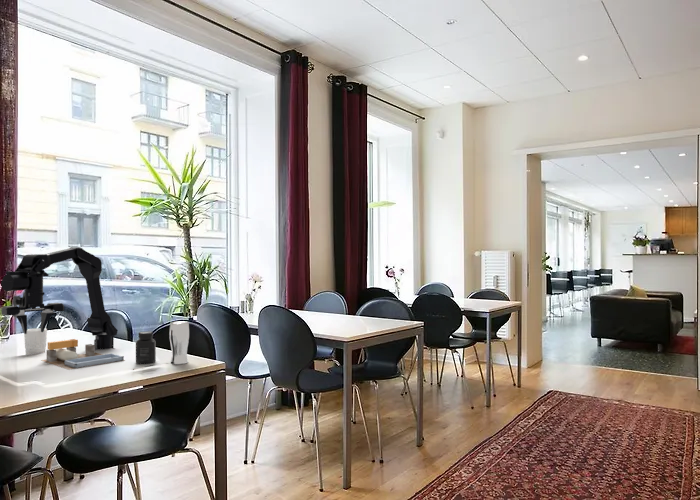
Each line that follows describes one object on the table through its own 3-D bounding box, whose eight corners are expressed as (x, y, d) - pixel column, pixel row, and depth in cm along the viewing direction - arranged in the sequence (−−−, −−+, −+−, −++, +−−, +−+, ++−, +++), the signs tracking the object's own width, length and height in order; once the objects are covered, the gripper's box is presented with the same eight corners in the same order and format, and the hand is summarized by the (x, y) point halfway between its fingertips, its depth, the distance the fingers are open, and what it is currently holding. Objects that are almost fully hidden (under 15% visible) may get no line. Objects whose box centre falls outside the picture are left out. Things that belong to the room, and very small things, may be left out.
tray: (111, 357, 201) (111, 353, 201) (123, 360, 196) (123, 356, 196) (64, 364, 188) (64, 360, 188) (75, 368, 182) (75, 363, 182)
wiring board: (95, 354, 211) (95, 342, 211) (125, 363, 196) (125, 349, 196) (40, 362, 195) (40, 349, 195) (68, 372, 180) (68, 357, 180)
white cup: (36, 356, 207) (36, 331, 207) (19, 356, 208) (19, 330, 208) (51, 353, 214) (51, 328, 214) (34, 352, 216) (34, 327, 216)
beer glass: (172, 361, 199) (172, 321, 199) (190, 360, 200) (191, 321, 200) (167, 365, 192) (167, 323, 192) (186, 364, 193) (186, 323, 193)
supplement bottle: (159, 363, 194) (159, 331, 194) (146, 367, 188) (147, 334, 188) (144, 362, 196) (144, 330, 197) (131, 366, 190) (131, 333, 190)
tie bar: (74, 345, 202) (74, 338, 202) (77, 346, 200) (77, 339, 200) (47, 349, 194) (47, 342, 194) (50, 350, 192) (50, 343, 192)
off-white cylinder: (52, 359, 197) (52, 348, 197) (63, 357, 200) (64, 347, 200) (66, 363, 190) (66, 352, 190) (77, 362, 193) (78, 351, 193)
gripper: (52, 287, 202) (52, 327, 202) (-4, 289, 188) (-4, 333, 188) (64, 288, 195) (64, 330, 195) (7, 291, 180) (7, 337, 180)
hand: (33, 332), depth 190 cm, fingers open, 5 cm apart
